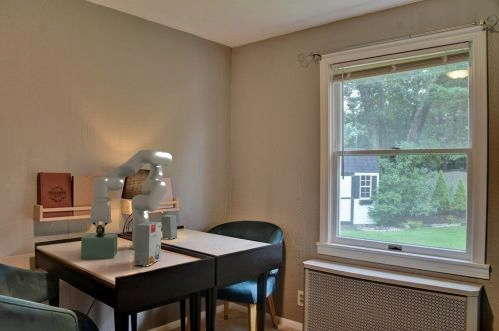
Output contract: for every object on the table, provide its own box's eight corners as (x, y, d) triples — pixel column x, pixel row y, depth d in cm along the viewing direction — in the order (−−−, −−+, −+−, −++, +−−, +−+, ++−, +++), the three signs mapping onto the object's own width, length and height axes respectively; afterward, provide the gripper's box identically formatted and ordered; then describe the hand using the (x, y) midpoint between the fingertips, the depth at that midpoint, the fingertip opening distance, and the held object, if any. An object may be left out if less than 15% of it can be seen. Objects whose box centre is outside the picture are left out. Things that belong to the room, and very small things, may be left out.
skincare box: (177, 238, 270) (177, 215, 270) (170, 240, 264) (170, 216, 264) (168, 237, 275) (168, 214, 275) (160, 238, 269) (161, 215, 269)
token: (102, 239, 214) (103, 233, 218) (101, 230, 211) (103, 224, 215) (98, 239, 213) (99, 233, 218) (97, 230, 211) (98, 224, 215)
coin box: (117, 252, 223) (117, 232, 223) (113, 258, 208) (113, 237, 208) (87, 253, 220) (87, 233, 220) (81, 259, 204) (81, 238, 205)
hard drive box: (148, 267, 190) (149, 225, 191) (133, 266, 192) (134, 225, 192) (161, 260, 206) (161, 221, 206) (147, 259, 207) (147, 221, 207)
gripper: (116, 199, 219) (116, 233, 219) (87, 199, 216) (86, 233, 216) (115, 200, 212) (114, 235, 212) (84, 200, 209) (83, 235, 209)
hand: (100, 234), depth 214 cm, fingers closed on token, 1 cm apart
